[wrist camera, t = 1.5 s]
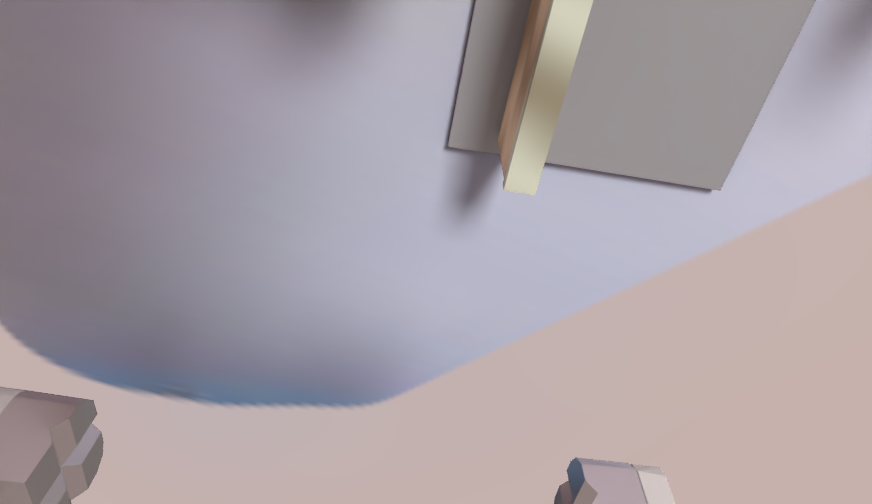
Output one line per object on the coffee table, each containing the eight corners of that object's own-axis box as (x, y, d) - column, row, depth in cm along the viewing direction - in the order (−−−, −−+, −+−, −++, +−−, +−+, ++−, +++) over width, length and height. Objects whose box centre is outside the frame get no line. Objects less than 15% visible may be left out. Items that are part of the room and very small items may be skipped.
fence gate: (560, -130, 23) (586, -125, 19) (594, -124, 24) (628, -116, 19) (495, 139, 30) (503, 190, 26) (522, 143, 30) (535, 195, 26)
